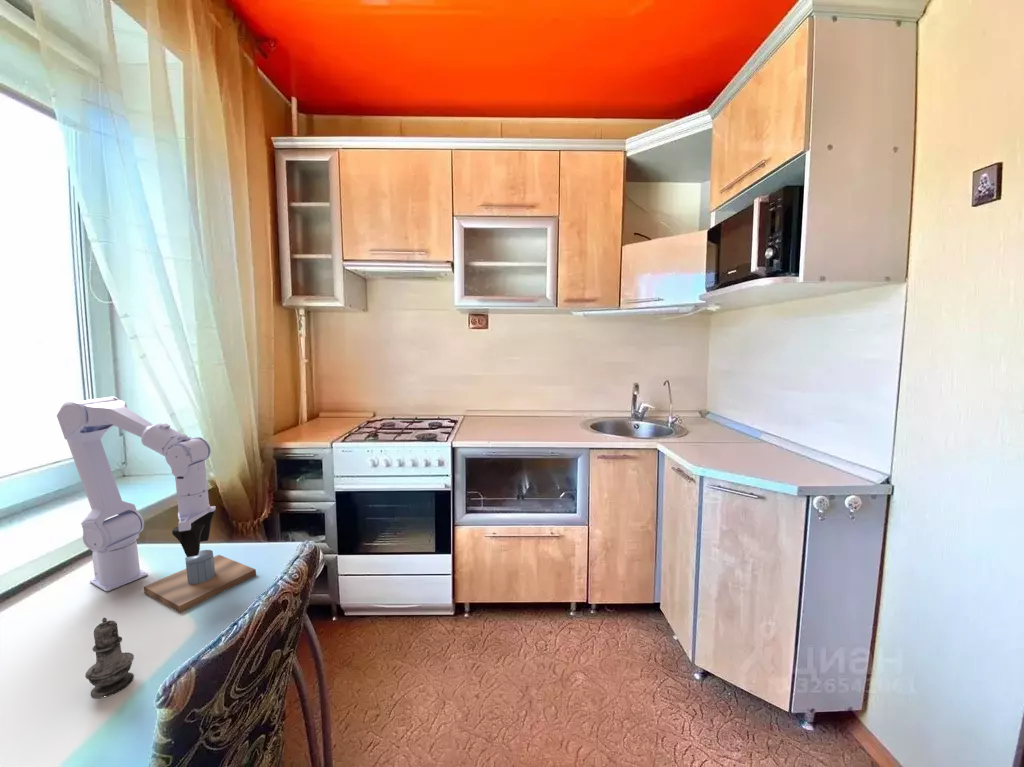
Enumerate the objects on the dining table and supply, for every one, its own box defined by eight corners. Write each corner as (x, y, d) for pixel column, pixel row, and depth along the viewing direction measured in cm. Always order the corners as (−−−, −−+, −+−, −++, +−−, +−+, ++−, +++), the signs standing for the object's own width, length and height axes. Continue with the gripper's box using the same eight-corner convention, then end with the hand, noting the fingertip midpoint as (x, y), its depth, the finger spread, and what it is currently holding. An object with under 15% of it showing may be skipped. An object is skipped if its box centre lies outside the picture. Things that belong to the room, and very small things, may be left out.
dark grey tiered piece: (106, 702, 67) (97, 631, 66) (78, 697, 69) (68, 627, 67) (145, 674, 73) (137, 608, 72) (118, 669, 74) (110, 604, 73)
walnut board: (144, 592, 97) (142, 574, 97) (219, 560, 111) (217, 543, 111) (180, 612, 90) (177, 592, 89) (256, 575, 104) (254, 557, 103)
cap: (198, 585, 97) (195, 562, 96) (182, 581, 99) (179, 559, 98) (220, 573, 102) (218, 551, 101) (204, 570, 104) (202, 548, 103)
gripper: (203, 499, 93) (209, 559, 94) (221, 479, 106) (226, 532, 108) (164, 504, 90) (170, 565, 92) (187, 483, 104) (192, 537, 105)
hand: (198, 548), depth 100 cm, fingers open, 7 cm apart
